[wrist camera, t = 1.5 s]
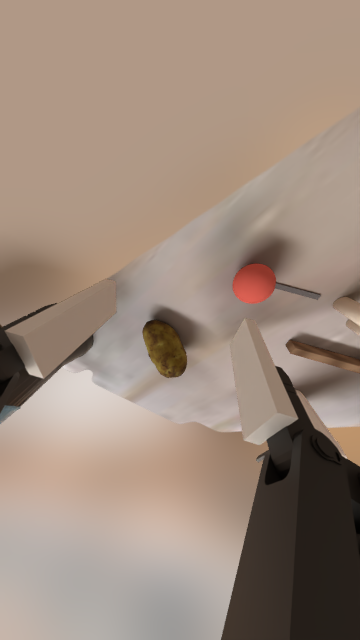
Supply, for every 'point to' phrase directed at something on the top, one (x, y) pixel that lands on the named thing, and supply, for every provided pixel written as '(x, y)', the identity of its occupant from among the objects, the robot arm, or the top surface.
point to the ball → (254, 283)
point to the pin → (353, 326)
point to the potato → (165, 348)
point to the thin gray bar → (297, 291)
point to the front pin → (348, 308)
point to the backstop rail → (323, 356)
